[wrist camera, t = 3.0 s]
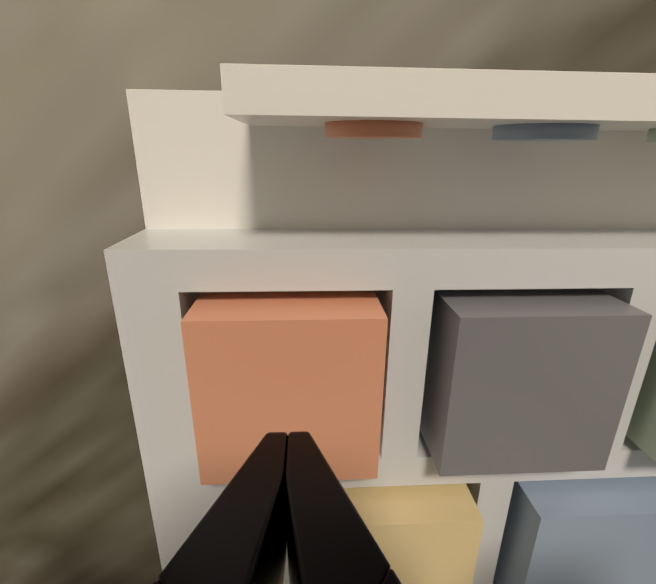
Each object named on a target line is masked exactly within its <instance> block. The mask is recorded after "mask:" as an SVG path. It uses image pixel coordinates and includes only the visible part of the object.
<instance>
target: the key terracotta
mask: <svg viewBox="0 0 656 584" xmlns="http://www.w3.org/2000/svg"><path fill="white" fill-rule="evenodd" d="M387 327H388V318H387V316H386V314H385V312H384V310H383V308H382V306H381V304H380V302H379V300H378V298H377V296H376V294H375V292H374V291H326V292H219V293H201V294H200V295H199V296H198V298H197V299H196V301H195V302H194V303H193V305H192V306H191V308H190V309H189V310H188V312H187V313H186V315H185V316H184V317H183V319H182V320H181V330H182V338H183V346H184V354H185V362H186V370H187V378H188V386H189V394H190V402H191V411H192V419H193V427H194V435H195V443H196V451H197V459H198V467H199V475H200V483H201V485H216V484H229V482H230V481H231V480H232V478H233V477H234V476H235V474H236V473H237V472H238V470H239V469H240V468H241V466H242V465H243V464H244V462H245V461H246V460H247V458H248V457H249V456H250V454H251V453H252V452H253V450H254V449H255V448H256V446H257V445H258V444H259V442H260V441H261V440H262V438H263V437H264V436H265V435H266V434H267V433H269V432H286V433H287V434H289V433H290V432H296V431H308V432H309V433H310V434H311V436H312V437H313V439H314V441H315V442H316V444H317V446H318V447H319V449H320V451H321V452H322V454H323V455H324V457H325V459H326V460H327V462H328V464H329V465H330V467H331V469H332V470H333V472H334V474H335V475H336V477H337V478H338V480H354V479H377V478H378V463H379V448H380V433H381V418H382V403H383V388H384V373H385V357H386V342H387Z"/></svg>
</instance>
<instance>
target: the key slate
mask: <svg viewBox="0 0 656 584" xmlns="http://www.w3.org/2000/svg"><path fill="white" fill-rule="evenodd" d="M494 580H495V582H496V584H656V476H651V477H624V478H598V479H571V480H544V481H518V482H514V485H513V490H512V495H511V499H510V504H509V509H508V513H507V518H506V523H505V528H504V532H503V537H502V542H501V546H500V551H499V556H498V560H497V565H496V570H495V574H494Z"/></svg>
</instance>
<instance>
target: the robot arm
mask: <svg viewBox="0 0 656 584" xmlns="http://www.w3.org/2000/svg"><path fill="white" fill-rule="evenodd" d="M286 554H287V557H288V573H289V584H402V583H401V581H400V580H399V578H398V577H397V575H396V573H395V572H394V570H393V569H390V564H389V562H388V561H387V559H386V557H385V556H384V554H383V552H382V551H381V549H380V547H379V546H378V544H377V543H376V541H375V539H374V538H373V536H372V534H371V533H370V531H369V529H368V528H367V526H366V524H365V523H364V521H363V520H362V518H361V516H360V515H359V513H358V511H357V510H356V508H355V506H354V505H353V503H352V501H351V500H350V498H349V497H348V495H347V493H346V492H345V490H344V488H343V487H342V485H341V483H340V482H339V480H338V478H337V477H336V475H335V474H334V472H333V470H332V469H331V467H330V465H329V464H328V462H327V460H326V459H325V457H324V455H323V454H322V452H321V451H320V449H319V447H318V446H317V444H316V442H315V441H314V439H313V437H312V436H311V434H310V433H309V432H308V431H296V432H290V433H289V434H287V433H286V432H269V433H267V434H266V435H265V436H264V437H263V438H262V440H261V441H260V442H259V444H258V445H257V446H256V448H255V449H254V450H253V452H252V453H251V454H250V456H249V457H248V458H247V460H246V461H245V462H244V464H243V465H242V466H241V468H240V469H239V470H238V472H237V473H236V474H235V476H234V477H233V478H232V480H231V481H230V482H229V484H228V485H227V486H226V488H225V489H224V490H223V492H222V493H221V494H220V495H219V497H218V498H217V499H216V501H215V502H214V503H213V505H212V506H211V507H210V509H209V510H208V511H207V513H206V514H205V515H204V517H203V518H202V519H201V521H200V522H199V523H198V525H197V526H196V527H195V529H194V530H193V531H192V533H191V534H190V535H189V537H188V538H187V539H186V541H185V542H184V543H183V545H182V546H181V547H180V549H179V550H178V551H177V552H176V554H175V555H174V556H173V558H172V559H171V560H170V562H169V563H168V564H167V566H166V567H165V568H164V570H163V571H162V572H161V574H160V575H159V577H158V580H159V581H154V583H153V584H283V580H284V572H285V564H286Z"/></svg>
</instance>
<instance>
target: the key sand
mask: <svg viewBox="0 0 656 584" xmlns="http://www.w3.org/2000/svg"><path fill="white" fill-rule="evenodd" d="M344 490H345V492H346V493H347V495H348V497H349V498H350V500H351V501H352V503H353V505H354V506H355V508H356V510H357V511H358V513H359V515H360V516H361V518H362V520H363V521H364V523H365V524H366V526H367V528H368V529H369V531H370V533H371V534H372V536H373V538H374V539H375V541H376V543H377V544H378V546H379V547H380V549H381V551H382V552H383V554H384V556H385V557H386V559H387V561H388V562H389V564H390V569H393V570H394V572H395V573H396V575H397V577H398V578H399V580H400V581H401V583H402V584H472V582H473V577H474V572H475V567H476V561H477V556H478V551H479V546H480V540H481V535H482V530H483V524H484V520H483V518H482V515H481V513H480V511H479V509H478V507H477V505H476V503H475V501H474V499H473V497H472V495H471V493H470V491H469V489H468V487H467V485H466V483H465V484H438V485H411V486H385V487H358V488H344Z"/></svg>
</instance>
